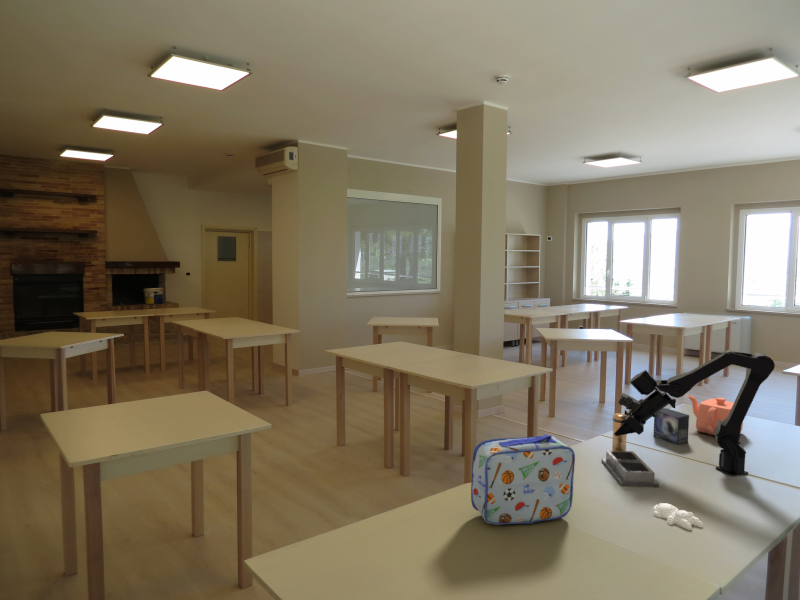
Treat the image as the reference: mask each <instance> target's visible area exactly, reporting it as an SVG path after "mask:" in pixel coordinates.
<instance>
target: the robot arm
mask: <svg viewBox="0 0 800 600" xmlns="http://www.w3.org/2000/svg"><path fill="white" fill-rule="evenodd" d="M775 365H776V363H775V362H774V359H772V358H771V357H770V356H769V355H767V354H766V353H764V352H755V353H748V352H741V351H734V350H731V349H727V350H724V351H723V352H722V353H721V354H718V355H717V356H715V357H713V358H712V359H710V360H708V361H706V362H704V363H702V364H701V365H699V366H697V367H695V368H694V369H692V370H690V371H687V372H684V373H680V374H677V375H674V376H672V377H671V376H670V377H669V378H668V379H655V378H654V377H653V376H652V375H651V373H649V371H648V370H647V369H644V370H643V371H640V372H639V373H636V374H635V375H634V376H633V377H632V378H631V379H630V380H629V382H628V383H629V384H631V386H633V388H634V389H635V390H637V392H638V393H639V394H640V395H642V396H643V395H644V396H646V397H645V398H640V399H639V400H638V399H636V398H634V397H633V396H630V395H629V394H626V393H625V392H622V393H621V395H620V397H619V399H618V400H617V403H618V405H621V406H623V407H625V409H624V414H625V415H627V416H626V417H625V416H624V423H623V424H622V425H621V426H620V427H619V428H618V430H617V431H616V432H615V433H614V435H615V436H620V435H625V434H627V435H629V434H630V435H631V434H636V435H638V436H639V435H641V434H642V433H644V431H645V430H644V429H645V424H647V421H648V420H649V419H651V418H654V417H655V416H656V413H658V412H659V411H660V410H662V409H663V408H667V406H670V407H672V408H673V409H676V402H677V399H679V398H682V397H683V396H686V395H687V393H688V392H690V391H691V390H692V389H694V387H695V386H696V385H698V383H700V382H702V381H704V380H705V379H707V378H709V377H711V376H713V375H715V374H717V373H719V372H720V371H723V370H724V369H727V367H729V366H738V367H741V368H745V369H746V370H745V376H744V380H743V382H742V384H741V387H740V389H739V392H738V393H737V396H736V398H735V400H734V401H733V402H734V404H733V406H732V408H731V410H730V413H729V415H728V417H727V418H726V419H725V420H724V421H721V420H718V422H717V426H716V428H715V429H713V430H714V432H715V435H714V438H715V440H716V443H717V445H718V446H719V447H720V448H721V449H720V453H719V454H718V455H719V456H718V457H719V458H718V466H715V469H716V470H718V471H721V472H722V473H726V474H727V475H729V476H732V477H735V476H742V475H743V476H744V475H748V474H749V471H746V470H745V465H746V454H747V451H746V449H745V447H744V446H743V444H742V442H740V437H741V433H742V430H741V425H742V422H743V423H744V420H745V419H746V416H747V414H748V412H749V410H750V407H751V405H752V403H753V401H754V399H755V397H756V394H757V393H758V390H759V388H760V386H761V385H762V384H763V383H764V382H765V381H766V380H767V379H768V378H769V377H770V375H771V374H772V373H773V371H774V369H775ZM685 394H686V395H685Z"/></svg>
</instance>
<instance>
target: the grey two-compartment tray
mask: <svg viewBox="0 0 800 600" xmlns="http://www.w3.org/2000/svg"><path fill="white" fill-rule="evenodd" d="M601 462H602V464H603V465H604V466H605V467H606V469H607V470H608V472H609V473H611V475H612V476H613V477H614V479H615V480H616V481H617V482H618V484H619V485H620V486H621V487H643V488H644V487H646V488H648V487H649V488H660V483H659V482H658V481H657V479H655V472H654V471H653V469H651V468H650V466H648V465H647V464H646V463H645V461H643V459H642V458H640V457H639V455H637V454H636V453H635V451H633V450H626V451H612V450H606V455H605V458H604V457H602V458H601Z"/></svg>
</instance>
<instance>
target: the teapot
mask: <svg viewBox="0 0 800 600" xmlns="http://www.w3.org/2000/svg"><path fill="white" fill-rule="evenodd" d="M685 396H686V397H687V398H688V399H689V400H690V402H691V404H692V411H693V414H694V416H695V417H696V420H695V421H696V422H695V427H696V431H697V432H700V433H704V434H708V435H712V436H715V432H714V430H713V429H715V428H716V426H717V422H718V420H721V421H724V420H725V419H726V418H727V417H728V415H729V413H730V410H731V408H732V406H733V404H734V402H735V401H733V402H732V401H729V400H727V399H726V398H724V397H715V398H708V399H706V400H704V401H701V402H700V403H698V400H697V399H696V398H695V396H692V395H688V394H686V395H685ZM743 425H744V421H743V422H742V425H741V431H742V430H743V427H744V426H743Z"/></svg>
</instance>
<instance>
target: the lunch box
mask: <svg viewBox="0 0 800 600" xmlns="http://www.w3.org/2000/svg"><path fill="white" fill-rule="evenodd" d="M471 463H472V464H471V465H472V466H471V485H470V486H471V487H470V491H471V493H470V499H471V500H470V501H471V505H472V507H473V508H474V509H475V510H476V511H478V512H479V514H480V515H481V517H482V518H483V520H484V521H485V523H487V524H489V525H513V524H515V525H516V524H527V525H529V524H534V523H537V522H544V521H552V520H558V519H562V518H564V517H566V516H567V515H568V514H569V512H570V510H571V508H572V506H573V505H572V504H573V496H574V481H575V480H574V476H575V465H576V464H575V463H576V454H575V451H574V449H573V447H571V446H569V445H567V444H565V443H563V442H562V441H560V440H559V438H557V437H556V436H554V435H549V434H543V435H537V436H528V437H527V436H526V437H524V436H523V437H505V438H504V437H503V438H493V439H487V440H484V441H481V442H480V443H478V444H477V445H476V447H475V448H474V450H473V453H472V462H471Z"/></svg>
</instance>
